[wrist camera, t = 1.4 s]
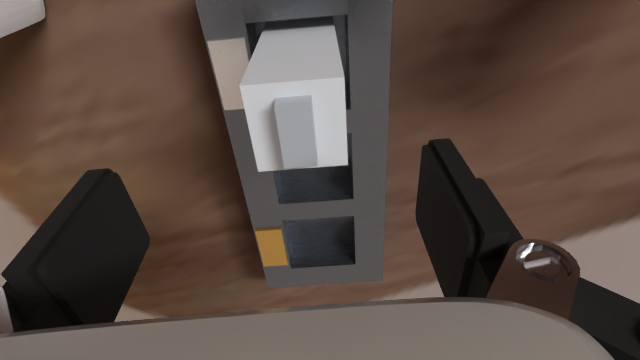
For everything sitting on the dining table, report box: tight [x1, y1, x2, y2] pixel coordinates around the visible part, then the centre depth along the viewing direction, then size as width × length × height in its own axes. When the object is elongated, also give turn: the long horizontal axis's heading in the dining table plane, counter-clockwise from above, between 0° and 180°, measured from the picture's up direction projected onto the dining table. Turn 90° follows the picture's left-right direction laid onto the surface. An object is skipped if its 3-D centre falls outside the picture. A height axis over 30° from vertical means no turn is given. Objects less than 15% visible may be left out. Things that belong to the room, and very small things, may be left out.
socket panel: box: [195, 0, 393, 288], centre depth 26 cm, size 10×24×4 cm, turn 5°
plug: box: [240, 17, 348, 172], centre depth 19 cm, size 4×4×11 cm
